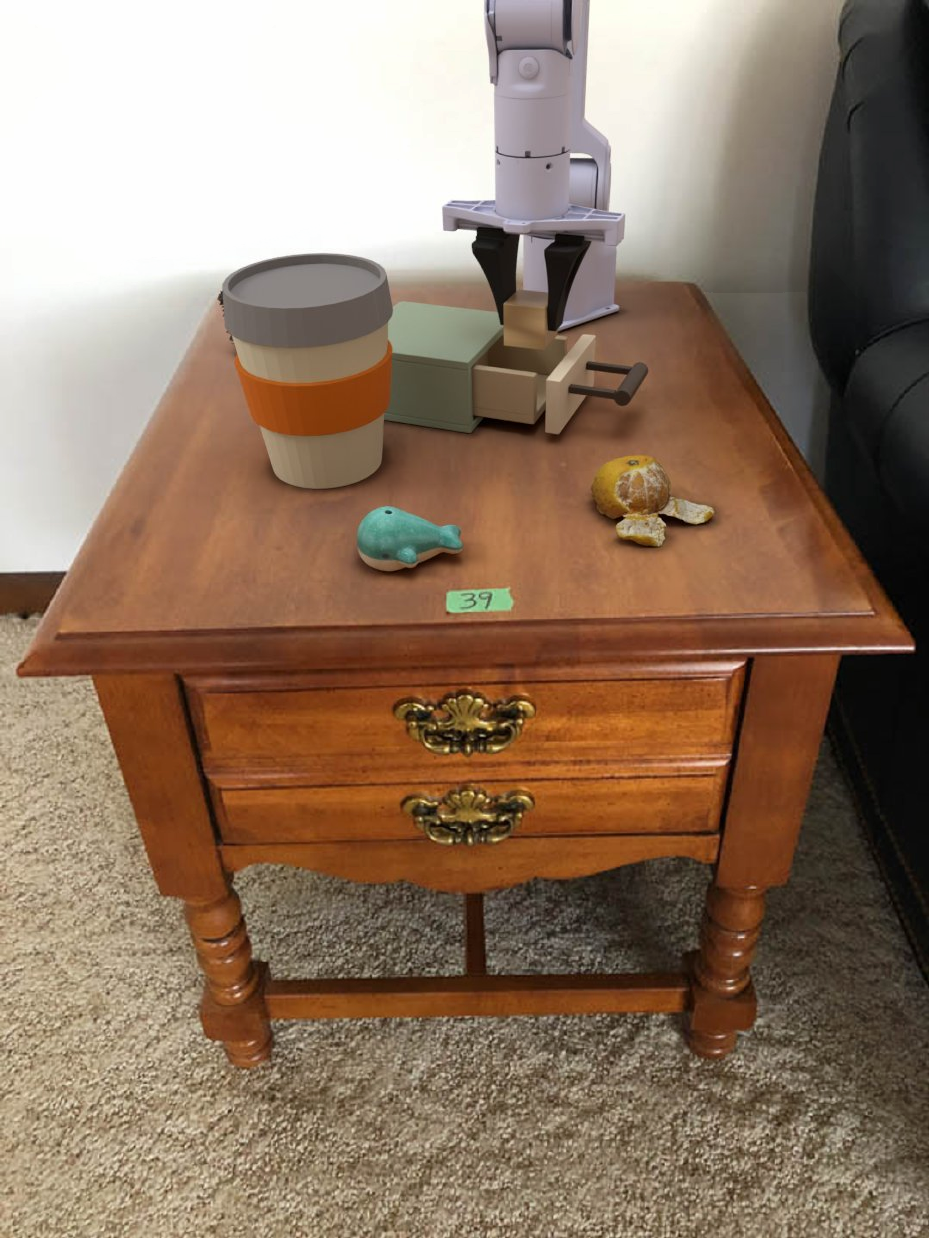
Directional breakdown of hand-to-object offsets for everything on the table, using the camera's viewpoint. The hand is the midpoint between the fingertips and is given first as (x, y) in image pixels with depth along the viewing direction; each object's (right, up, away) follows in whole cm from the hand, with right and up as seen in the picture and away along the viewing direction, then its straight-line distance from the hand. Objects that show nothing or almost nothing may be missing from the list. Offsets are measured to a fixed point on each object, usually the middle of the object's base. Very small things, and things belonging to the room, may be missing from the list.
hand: (530, 324), depth 86 cm
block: (0, -1, +1) cm, 1 cm away
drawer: (+2, -6, +4) cm, 7 cm away
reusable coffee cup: (-17, -12, -1) cm, 21 cm away
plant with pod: (-24, +5, +14) cm, 28 cm away
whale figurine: (-9, -20, -13) cm, 26 cm away
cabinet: (-8, -5, +8) cm, 12 cm away
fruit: (+8, -17, -10) cm, 22 cm away
